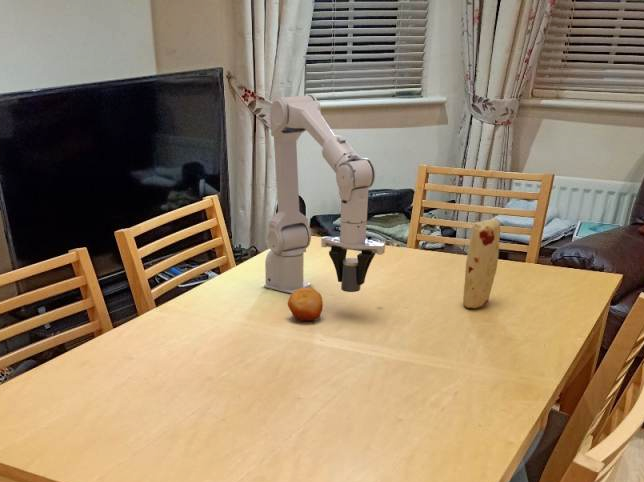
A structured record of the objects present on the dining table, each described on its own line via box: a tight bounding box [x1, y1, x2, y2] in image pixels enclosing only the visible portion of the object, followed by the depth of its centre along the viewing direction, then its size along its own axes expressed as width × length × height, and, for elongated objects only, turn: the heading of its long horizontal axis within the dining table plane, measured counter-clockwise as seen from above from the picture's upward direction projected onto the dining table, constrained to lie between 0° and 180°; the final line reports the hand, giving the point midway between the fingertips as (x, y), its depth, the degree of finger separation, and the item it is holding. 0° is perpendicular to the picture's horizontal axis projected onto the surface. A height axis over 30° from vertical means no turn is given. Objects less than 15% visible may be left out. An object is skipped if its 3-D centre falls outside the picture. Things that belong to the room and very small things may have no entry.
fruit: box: [287, 286, 324, 322], centre depth 176 cm, size 8×8×8 cm
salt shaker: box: [340, 257, 362, 293], centre depth 172 cm, size 4×4×6 cm
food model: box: [462, 218, 501, 309], centre depth 178 cm, size 10×7×20 cm
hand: (351, 282), depth 173 cm, fingers closed on salt shaker, 4 cm apart
